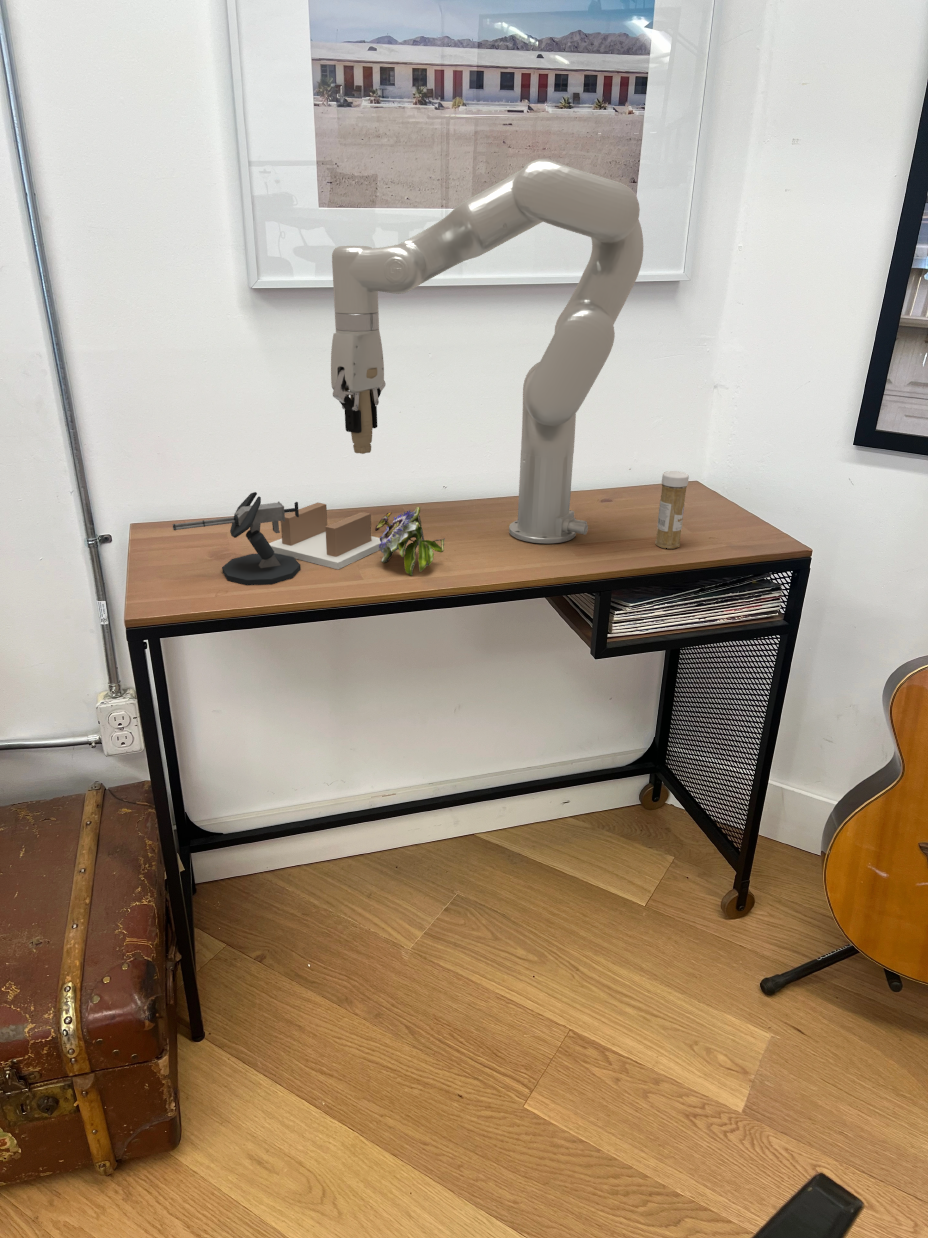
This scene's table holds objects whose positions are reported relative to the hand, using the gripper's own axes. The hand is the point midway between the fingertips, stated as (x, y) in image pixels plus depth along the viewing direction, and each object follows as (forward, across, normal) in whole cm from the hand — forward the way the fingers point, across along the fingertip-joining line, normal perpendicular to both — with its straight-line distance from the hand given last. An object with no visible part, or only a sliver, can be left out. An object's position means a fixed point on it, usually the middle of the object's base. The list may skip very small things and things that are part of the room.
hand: (361, 428), depth 158 cm
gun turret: (+19, +30, -2) cm, 36 cm away
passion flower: (+19, +11, +18) cm, 28 cm away
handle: (+4, 0, 0) cm, 4 cm away
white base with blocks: (+19, +13, +2) cm, 23 cm away
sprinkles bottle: (+20, -23, +52) cm, 60 cm away
